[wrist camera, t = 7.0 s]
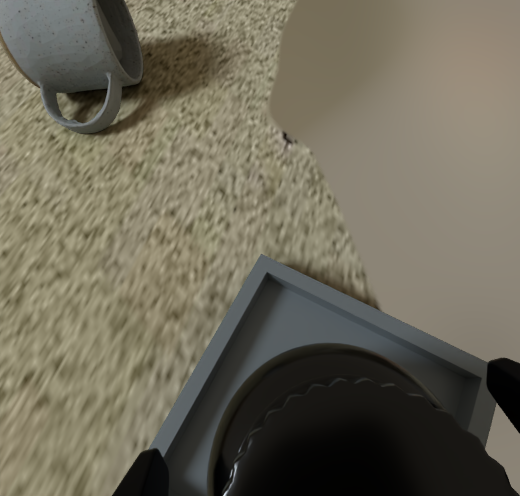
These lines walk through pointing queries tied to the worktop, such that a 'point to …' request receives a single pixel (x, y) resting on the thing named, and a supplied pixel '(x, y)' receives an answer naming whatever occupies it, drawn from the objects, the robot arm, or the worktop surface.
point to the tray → (295, 335)
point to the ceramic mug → (73, 51)
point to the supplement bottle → (344, 433)
